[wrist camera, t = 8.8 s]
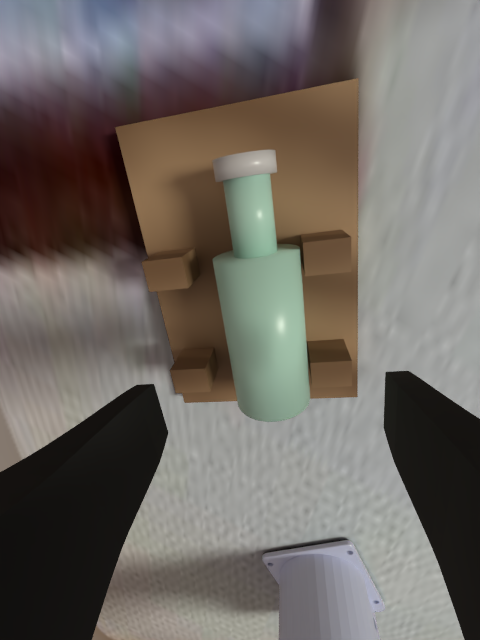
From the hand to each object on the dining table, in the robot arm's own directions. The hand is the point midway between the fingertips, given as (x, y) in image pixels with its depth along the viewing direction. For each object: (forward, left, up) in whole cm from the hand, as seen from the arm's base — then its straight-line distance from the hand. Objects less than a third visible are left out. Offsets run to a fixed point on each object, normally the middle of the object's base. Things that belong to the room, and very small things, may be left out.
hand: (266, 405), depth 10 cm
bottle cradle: (+2, 0, -9) cm, 10 cm away
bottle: (+2, +1, -8) cm, 8 cm away
